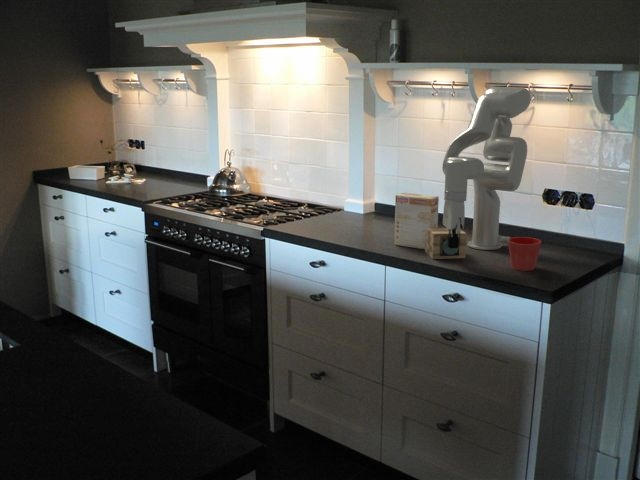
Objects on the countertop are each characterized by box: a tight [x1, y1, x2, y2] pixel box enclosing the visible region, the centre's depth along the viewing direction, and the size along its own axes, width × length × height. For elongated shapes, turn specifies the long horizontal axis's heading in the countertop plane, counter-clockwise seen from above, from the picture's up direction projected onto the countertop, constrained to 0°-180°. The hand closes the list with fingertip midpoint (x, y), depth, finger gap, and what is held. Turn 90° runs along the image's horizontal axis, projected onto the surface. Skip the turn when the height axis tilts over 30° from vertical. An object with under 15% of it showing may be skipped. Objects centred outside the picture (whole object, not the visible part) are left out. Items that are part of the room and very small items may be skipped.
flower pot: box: [507, 236, 542, 272], centre depth 240 cm, size 11×11×10 cm
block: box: [424, 227, 468, 260], centre depth 256 cm, size 10×12×9 cm
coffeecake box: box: [393, 192, 440, 250], centre depth 269 cm, size 15×7×20 cm, turn 56°
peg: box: [443, 239, 459, 255], centre depth 256 cm, size 11×6×6 cm, turn 8°
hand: (452, 247), depth 248 cm, fingers closed
